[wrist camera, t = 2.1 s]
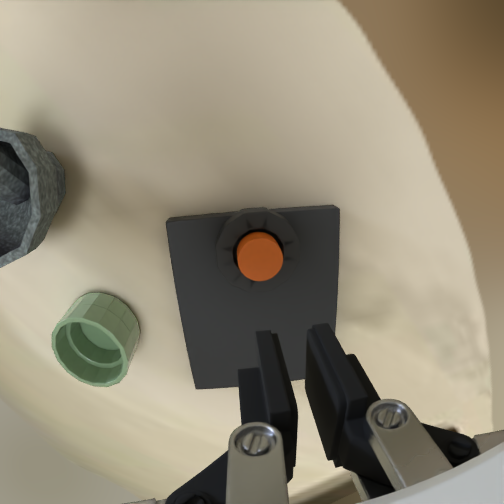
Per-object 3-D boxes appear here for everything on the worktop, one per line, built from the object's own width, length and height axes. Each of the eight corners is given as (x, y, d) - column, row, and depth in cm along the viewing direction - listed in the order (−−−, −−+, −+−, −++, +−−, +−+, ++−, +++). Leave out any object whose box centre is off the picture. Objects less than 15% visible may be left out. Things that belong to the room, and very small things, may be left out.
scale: (167, 212, 24) (160, 220, 21) (333, 199, 25) (347, 206, 22) (196, 380, 29) (194, 401, 26) (327, 366, 30) (336, 385, 27)
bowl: (65, 291, 25) (40, 318, 21) (131, 287, 26) (114, 316, 21) (85, 353, 28) (68, 384, 23) (148, 353, 28) (137, 387, 23)
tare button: (235, 233, 22) (236, 240, 21) (278, 229, 22) (282, 236, 21) (238, 273, 23) (239, 283, 22) (279, 269, 23) (283, 279, 22)
